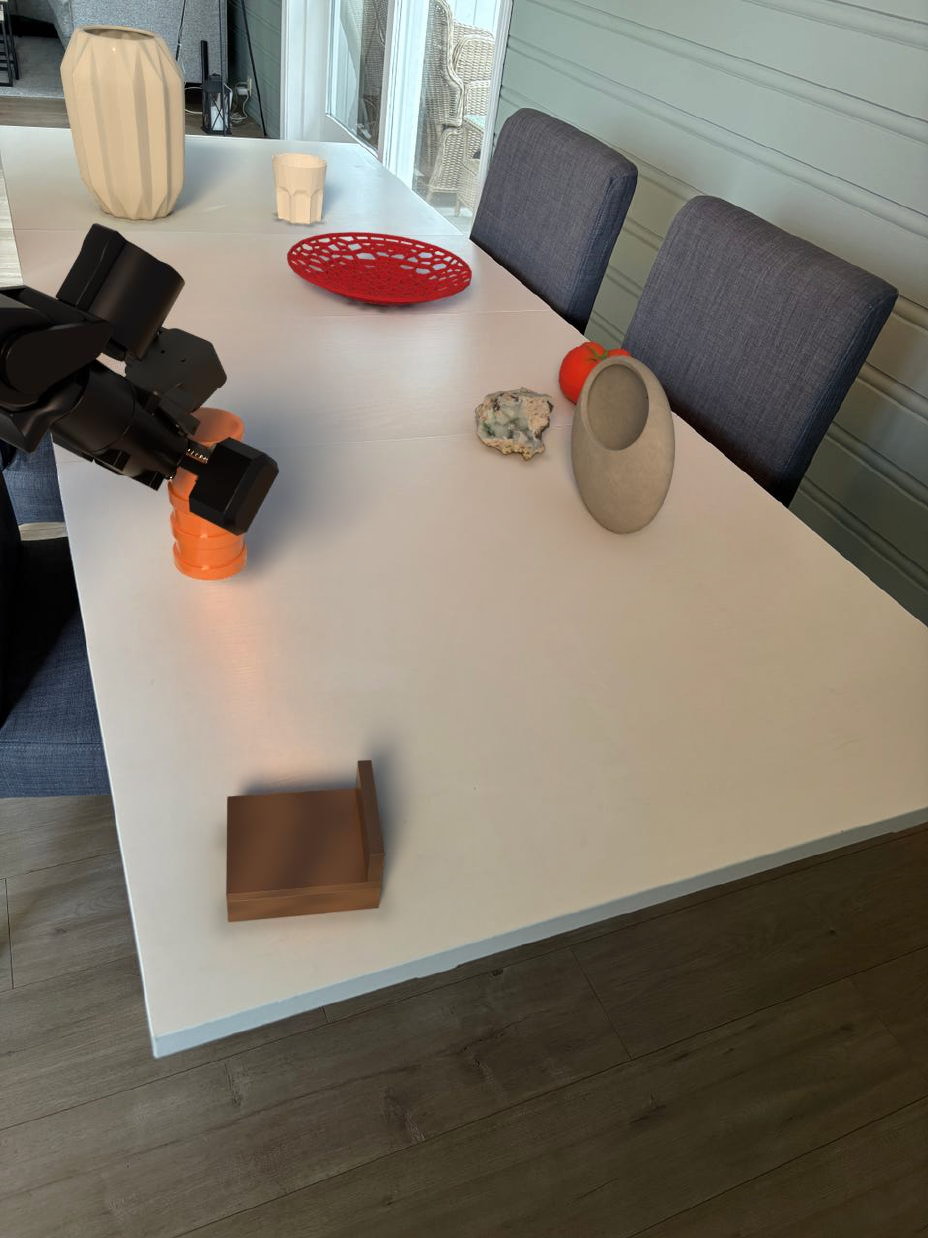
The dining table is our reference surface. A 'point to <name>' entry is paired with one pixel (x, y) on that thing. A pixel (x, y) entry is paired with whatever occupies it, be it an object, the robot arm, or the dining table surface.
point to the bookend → (304, 851)
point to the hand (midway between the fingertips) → (219, 488)
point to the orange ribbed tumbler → (197, 540)
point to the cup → (299, 186)
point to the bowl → (379, 269)
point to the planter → (623, 444)
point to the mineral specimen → (514, 421)
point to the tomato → (582, 366)
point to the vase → (126, 118)
